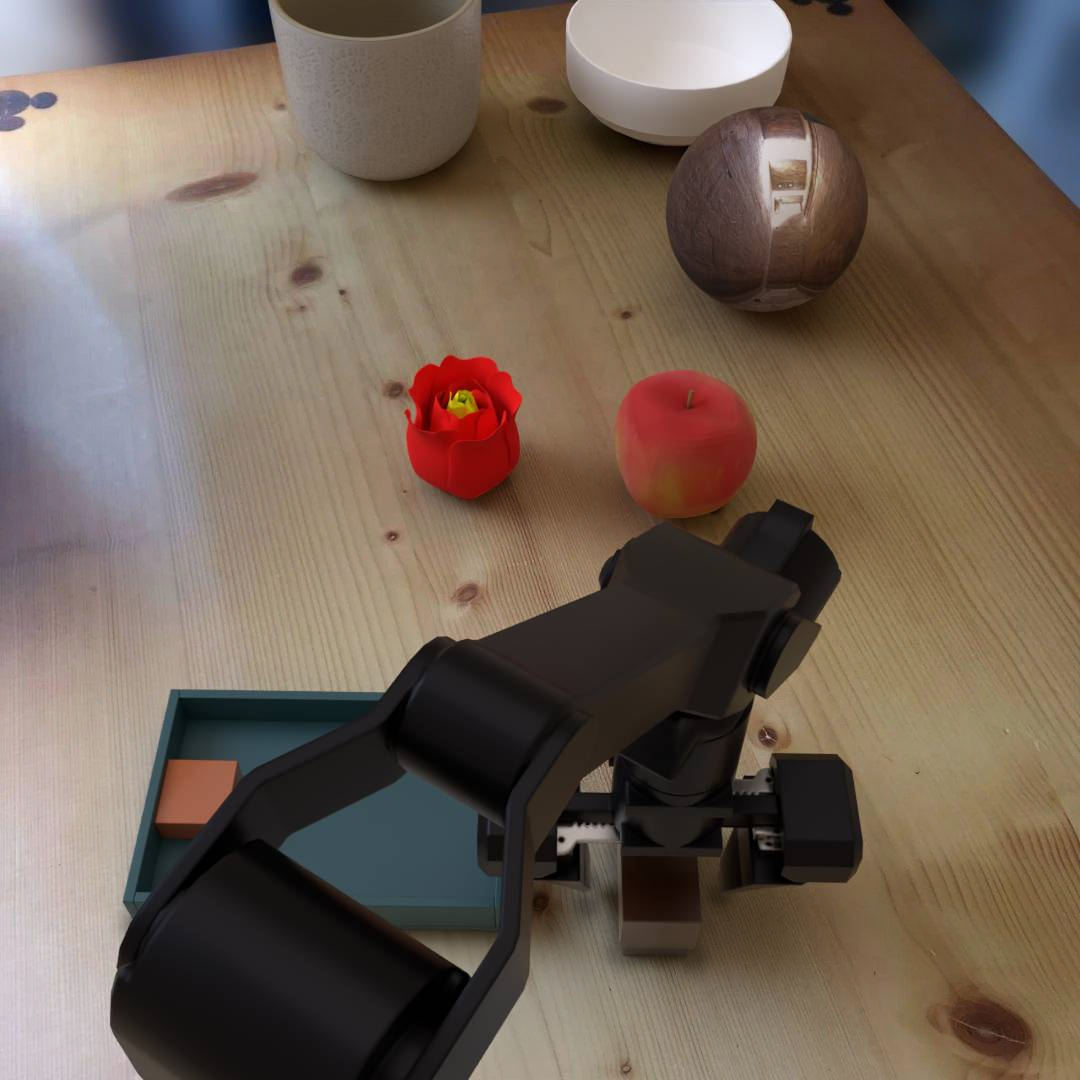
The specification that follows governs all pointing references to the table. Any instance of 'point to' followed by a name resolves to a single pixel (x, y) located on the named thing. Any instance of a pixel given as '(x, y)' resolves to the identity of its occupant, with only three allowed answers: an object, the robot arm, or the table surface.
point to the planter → (381, 80)
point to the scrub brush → (658, 904)
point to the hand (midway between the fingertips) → (653, 884)
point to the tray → (342, 838)
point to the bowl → (675, 62)
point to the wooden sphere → (766, 209)
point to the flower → (463, 425)
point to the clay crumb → (193, 795)
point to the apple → (684, 443)
